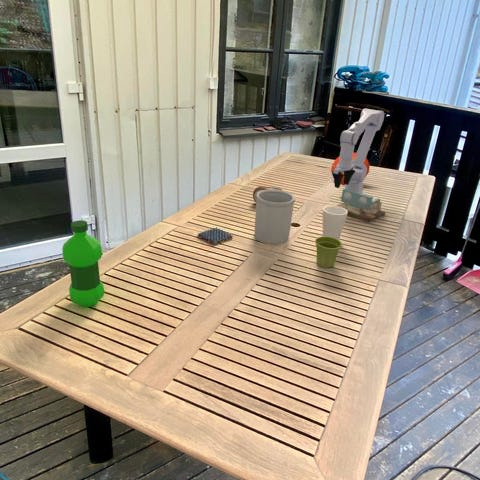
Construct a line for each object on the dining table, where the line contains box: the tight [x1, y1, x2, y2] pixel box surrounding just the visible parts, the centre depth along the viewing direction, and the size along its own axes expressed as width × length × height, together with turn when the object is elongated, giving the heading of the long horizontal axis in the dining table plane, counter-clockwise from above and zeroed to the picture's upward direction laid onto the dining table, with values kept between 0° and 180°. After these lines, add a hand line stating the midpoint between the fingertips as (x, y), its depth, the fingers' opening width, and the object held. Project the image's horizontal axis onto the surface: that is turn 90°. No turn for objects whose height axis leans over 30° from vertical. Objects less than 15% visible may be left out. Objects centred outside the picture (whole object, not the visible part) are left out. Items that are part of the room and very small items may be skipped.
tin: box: [252, 185, 284, 203], centre depth 206 cm, size 15×3×8 cm, turn 84°
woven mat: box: [196, 226, 233, 246], centre depth 172 cm, size 10×11×2 cm
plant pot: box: [314, 236, 343, 269], centre depth 156 cm, size 9×9×9 cm
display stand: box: [336, 200, 386, 223], centre depth 203 cm, size 14×19×6 cm
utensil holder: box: [254, 189, 296, 245], centre depth 172 cm, size 15×15×18 cm
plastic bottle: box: [61, 220, 105, 308], centre depth 123 cm, size 10×10×25 cm
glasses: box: [340, 187, 381, 210], centre depth 203 cm, size 10×14×6 cm
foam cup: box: [322, 205, 348, 241], centre depth 173 cm, size 10×9×13 cm
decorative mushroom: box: [330, 151, 370, 185], centre depth 244 cm, size 15×21×15 cm
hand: (341, 185), depth 207 cm, fingers open, 7 cm apart
